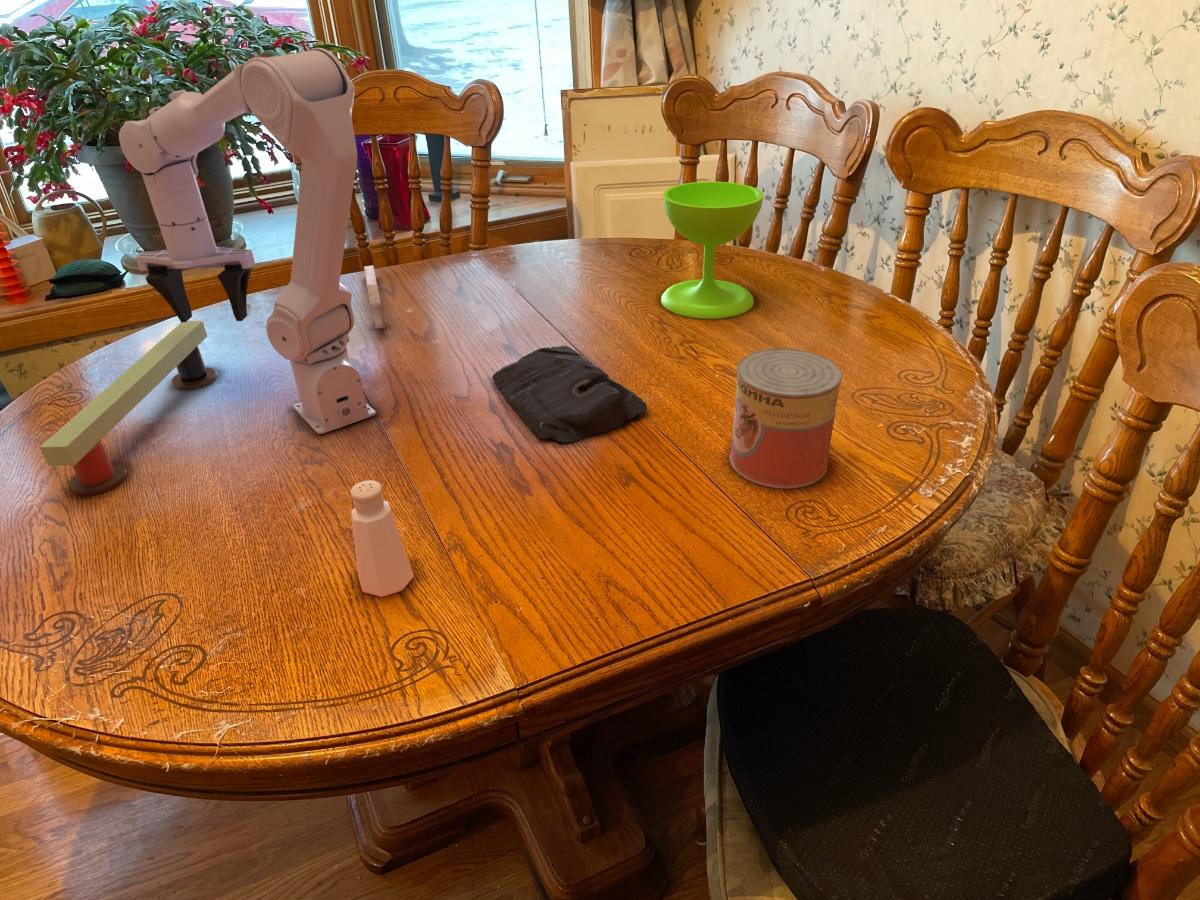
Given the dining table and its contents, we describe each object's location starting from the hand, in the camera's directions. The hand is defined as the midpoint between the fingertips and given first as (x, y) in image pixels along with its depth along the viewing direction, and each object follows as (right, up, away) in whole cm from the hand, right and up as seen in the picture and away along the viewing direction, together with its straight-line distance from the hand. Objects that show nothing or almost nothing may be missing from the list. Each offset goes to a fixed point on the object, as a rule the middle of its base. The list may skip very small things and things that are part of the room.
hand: (214, 318), depth 106 cm
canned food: (+74, -19, -14) cm, 78 cm away
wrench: (+14, +7, +29) cm, 33 cm away
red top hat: (-7, -22, -14) cm, 27 cm away
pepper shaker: (+32, -31, -29) cm, 53 cm away
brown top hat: (-7, -8, +8) cm, 13 cm away
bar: (-7, -10, -6) cm, 14 cm away
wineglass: (+71, +8, +28) cm, 77 cm away
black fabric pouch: (+48, -11, 0) cm, 49 cm away
